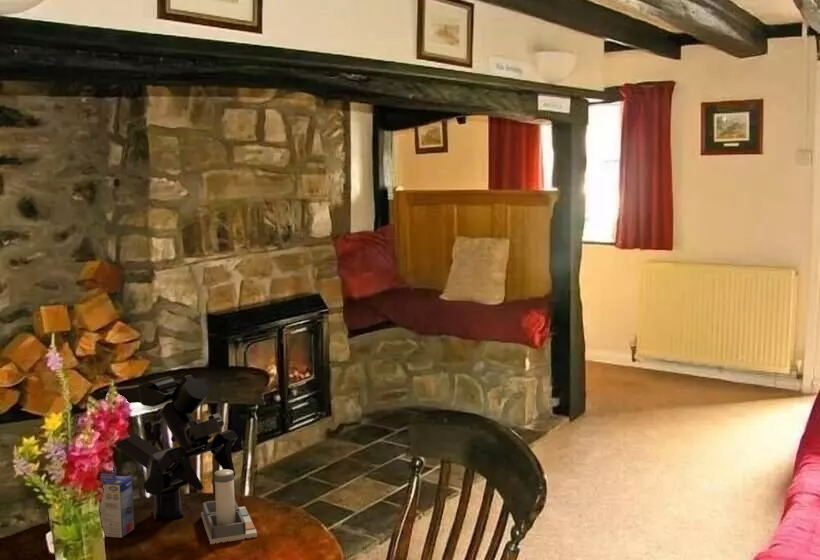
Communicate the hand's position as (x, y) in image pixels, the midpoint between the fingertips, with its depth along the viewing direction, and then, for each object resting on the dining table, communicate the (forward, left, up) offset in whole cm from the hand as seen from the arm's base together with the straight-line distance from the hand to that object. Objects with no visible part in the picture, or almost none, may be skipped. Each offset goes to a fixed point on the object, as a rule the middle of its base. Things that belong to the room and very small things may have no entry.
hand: (218, 482), depth 187 cm
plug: (+2, +1, -10) cm, 10 cm away
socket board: (-2, +2, -11) cm, 12 cm away
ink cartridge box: (-9, -23, -12) cm, 27 cm away
